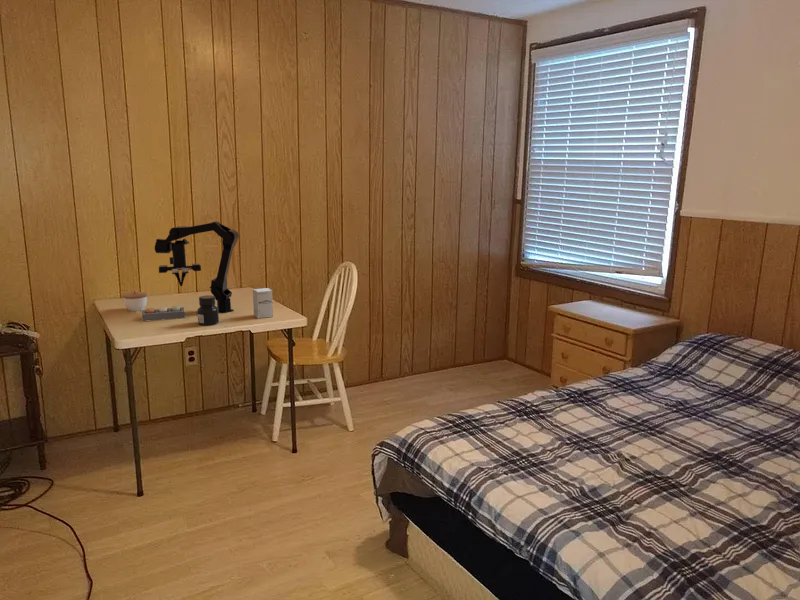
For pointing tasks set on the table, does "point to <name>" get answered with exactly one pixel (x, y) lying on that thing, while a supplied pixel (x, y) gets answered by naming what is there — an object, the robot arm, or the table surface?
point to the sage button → (176, 308)
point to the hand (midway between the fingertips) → (181, 286)
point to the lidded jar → (135, 300)
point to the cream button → (163, 309)
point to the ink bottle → (207, 311)
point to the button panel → (163, 314)
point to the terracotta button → (150, 310)
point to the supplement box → (262, 302)
